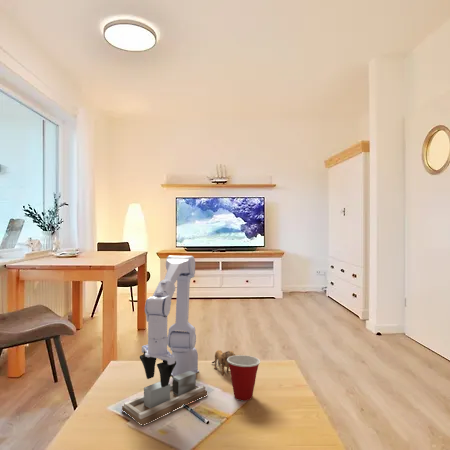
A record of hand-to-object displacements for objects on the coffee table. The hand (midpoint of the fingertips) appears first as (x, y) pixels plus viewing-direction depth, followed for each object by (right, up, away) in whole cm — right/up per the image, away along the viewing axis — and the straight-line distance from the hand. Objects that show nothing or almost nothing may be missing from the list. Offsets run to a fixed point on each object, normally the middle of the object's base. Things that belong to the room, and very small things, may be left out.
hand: (157, 381), depth 102 cm
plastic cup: (+26, -8, +7) cm, 28 cm away
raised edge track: (+2, -8, +2) cm, 8 cm away
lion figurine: (+20, -9, +27) cm, 34 cm away
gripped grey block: (0, -6, 0) cm, 6 cm away
